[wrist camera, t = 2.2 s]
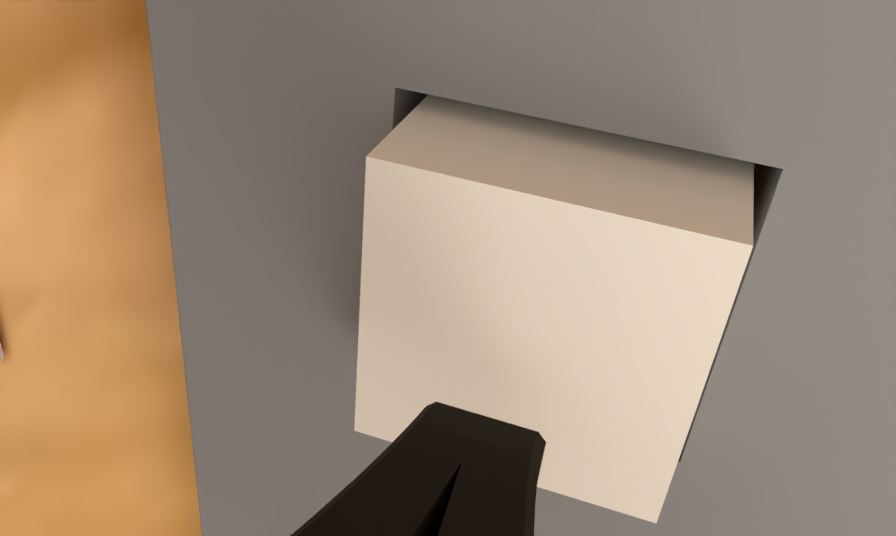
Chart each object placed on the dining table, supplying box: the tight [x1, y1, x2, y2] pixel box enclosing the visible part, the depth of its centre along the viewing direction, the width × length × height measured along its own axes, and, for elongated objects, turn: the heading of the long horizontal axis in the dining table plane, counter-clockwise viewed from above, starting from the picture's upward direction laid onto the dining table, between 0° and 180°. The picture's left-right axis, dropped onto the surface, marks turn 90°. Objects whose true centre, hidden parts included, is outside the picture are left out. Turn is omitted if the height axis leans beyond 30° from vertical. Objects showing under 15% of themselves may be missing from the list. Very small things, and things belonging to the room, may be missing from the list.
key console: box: [146, 0, 896, 536], centre depth 18 cm, size 14×24×3 cm, turn 174°
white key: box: [354, 94, 754, 523], centre depth 13 cm, size 5×5×3 cm
